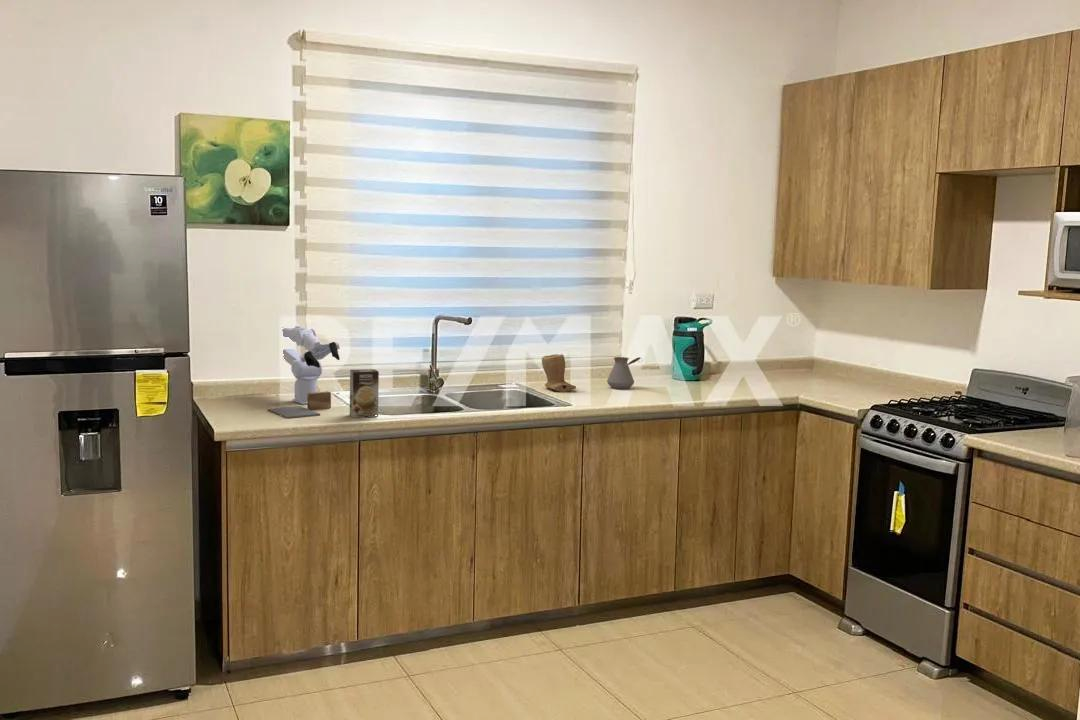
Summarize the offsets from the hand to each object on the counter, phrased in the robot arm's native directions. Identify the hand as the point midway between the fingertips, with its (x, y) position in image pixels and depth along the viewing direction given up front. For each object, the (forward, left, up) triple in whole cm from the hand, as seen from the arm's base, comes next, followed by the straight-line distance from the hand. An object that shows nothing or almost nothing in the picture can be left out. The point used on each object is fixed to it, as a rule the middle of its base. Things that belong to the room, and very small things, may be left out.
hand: (328, 361), depth 357 cm
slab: (-5, -1, -18) cm, 19 cm away
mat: (-2, -12, -18) cm, 22 cm away
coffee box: (+15, +7, -18) cm, 24 cm away
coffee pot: (+17, +127, -18) cm, 129 cm away
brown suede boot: (+3, +101, -18) cm, 102 cm away
